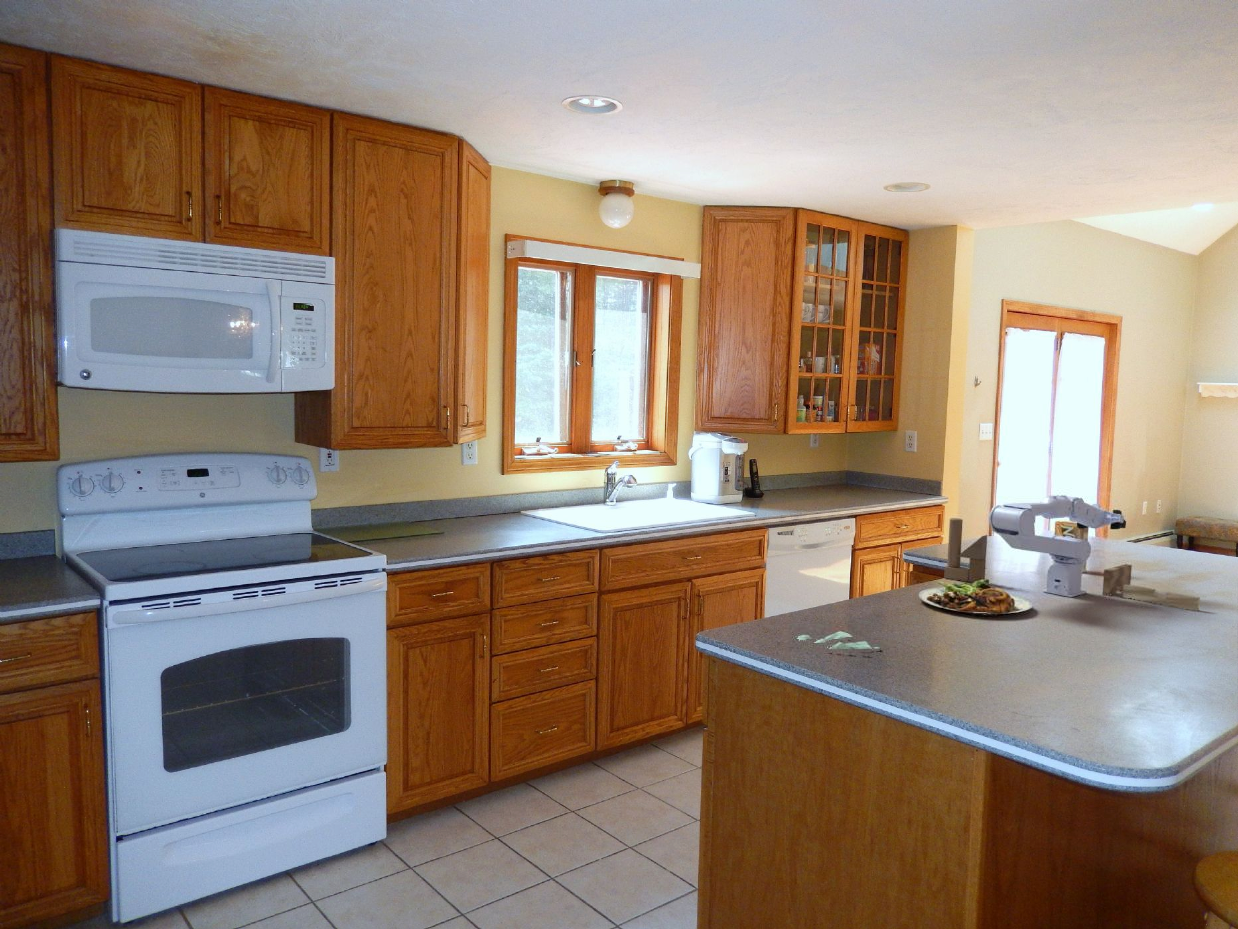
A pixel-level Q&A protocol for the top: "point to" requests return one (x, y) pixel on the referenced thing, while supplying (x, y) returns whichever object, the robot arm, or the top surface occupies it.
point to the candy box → (1071, 533)
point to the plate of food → (975, 598)
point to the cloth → (840, 645)
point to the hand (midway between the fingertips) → (1111, 524)
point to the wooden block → (965, 555)
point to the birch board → (1170, 599)
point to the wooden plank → (1116, 578)
